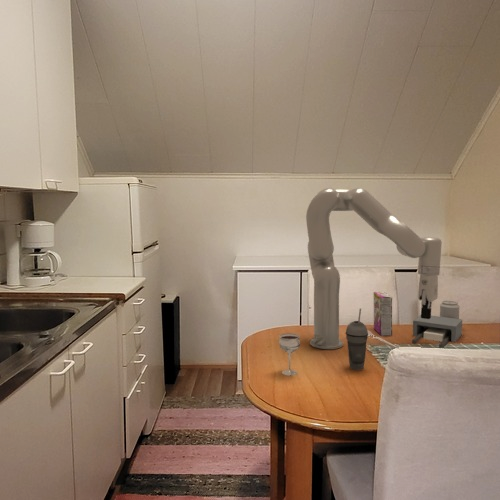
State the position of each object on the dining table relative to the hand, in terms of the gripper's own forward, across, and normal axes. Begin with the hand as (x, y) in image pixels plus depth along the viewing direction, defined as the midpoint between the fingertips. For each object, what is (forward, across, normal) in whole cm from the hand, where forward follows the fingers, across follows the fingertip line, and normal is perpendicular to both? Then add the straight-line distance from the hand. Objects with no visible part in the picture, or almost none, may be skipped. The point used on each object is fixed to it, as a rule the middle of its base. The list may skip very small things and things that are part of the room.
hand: (425, 318), depth 159 cm
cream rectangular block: (+11, +13, -1) cm, 17 cm away
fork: (+12, -4, +15) cm, 19 cm away
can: (+10, +28, -3) cm, 30 cm away
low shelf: (+10, +11, -1) cm, 15 cm away
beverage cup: (+12, -36, +12) cm, 40 cm away
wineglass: (+13, -52, +28) cm, 61 cm away
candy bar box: (+11, +8, +19) cm, 23 cm away
